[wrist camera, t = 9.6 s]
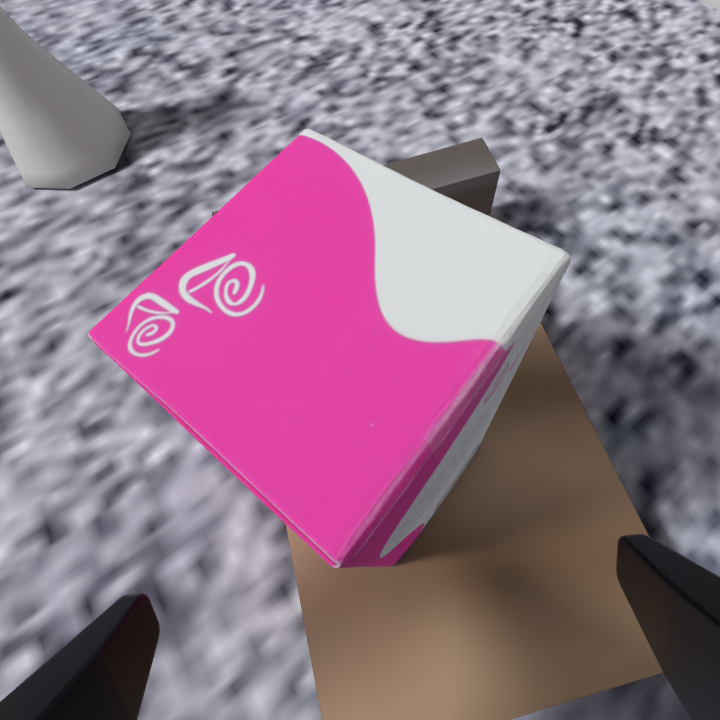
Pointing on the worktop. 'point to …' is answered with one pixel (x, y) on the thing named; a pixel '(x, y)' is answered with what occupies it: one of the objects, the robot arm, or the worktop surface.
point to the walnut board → (488, 557)
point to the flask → (53, 116)
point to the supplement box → (338, 342)
